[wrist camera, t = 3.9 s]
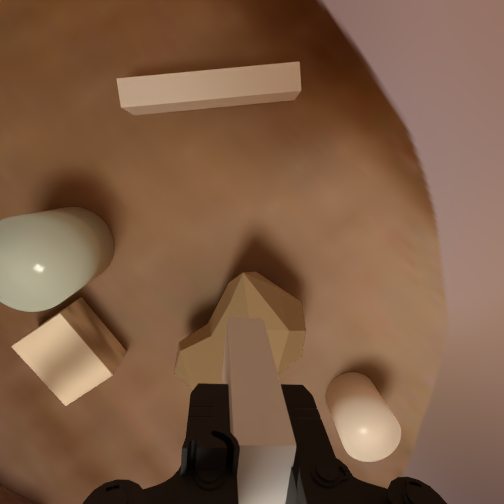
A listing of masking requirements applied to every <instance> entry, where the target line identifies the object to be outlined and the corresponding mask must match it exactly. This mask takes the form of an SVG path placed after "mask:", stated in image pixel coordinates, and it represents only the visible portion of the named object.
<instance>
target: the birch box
mask: <svg viewBox="0 0 504 504" xmlns="http://www.w3.org/2000/svg"><path fill="white" fill-rule="evenodd" d="M12 348H13V349H14V350H15V351H16V352H17V353H18V354H19V355H20V357H21V358H22V359H23V360H24V361H25V362H26V363H27V364H28V365H29V366H30V368H31V369H32V370H33V371H34V372H35V373H36V374H37V375H38V376H39V377H40V378H41V380H42V381H43V382H44V383H45V384H46V385H47V386H48V387H49V388H50V389H51V391H52V392H53V393H54V394H55V395H56V396H57V397H58V398H59V399H60V400H61V402H62V403H63V404H64V405H65V406H67V405H68V404H70V403H71V402H73V401H74V400H76V399H77V398H79V397H80V396H82V395H83V394H85V393H86V392H88V391H89V390H91V389H92V388H94V387H95V386H97V385H98V384H100V383H102V382H103V381H105V380H106V379H108V378H109V377H111V376H112V375H113V374H114V372H115V371H116V369H117V368H118V366H119V364H120V363H121V361H122V359H123V358H124V356H125V355H126V353H127V351H126V350H125V349H124V348H123V346H122V345H121V344H120V343H119V342H118V340H117V339H116V338H115V337H114V335H113V334H112V333H111V332H110V331H109V329H108V328H107V327H106V326H105V325H104V323H103V322H102V321H101V320H100V319H99V317H98V316H97V315H96V314H95V313H94V311H93V310H92V309H91V308H90V307H89V305H88V304H87V303H86V302H85V301H84V299H83V298H82V297H80V298H79V299H77V300H76V301H74V302H73V303H71V304H70V305H69V306H67V307H66V308H64V309H63V310H61V311H60V312H58V313H57V314H55V315H54V316H53V317H51V318H50V319H48V320H47V321H45V322H44V323H42V324H41V325H39V326H38V327H37V328H35V329H34V330H33V331H31V332H30V333H29V334H27V335H26V336H25V337H24V338H22V339H21V340H20V341H18V342H17V343H16V344H14V345H13V346H12Z"/></svg>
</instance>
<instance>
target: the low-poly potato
mask: <svg viewBox="0 0 504 504" xmlns="http://www.w3.org/2000/svg"><path fill="white" fill-rule="evenodd" d="M227 317H240V318H261V319H264V323H265V327H266V331H267V334H268V338H269V342H270V346H271V350H272V354H273V357H274V361H275V365H276V369H277V373H278V374H279V373H280V372H282V371H283V370H284V369H286V368H287V367H288V366H290V365H291V364H292V363H294V362H295V361H296V360H298V359H299V358H300V357H302V352H303V346H304V340H305V333H306V328H305V321H304V314H303V306H302V302H301V301H299V300H298V299H296V298H295V297H293V296H292V295H290V294H289V293H287V292H286V291H284V290H283V289H281V288H280V287H278V286H277V285H275V284H274V283H272V282H271V281H269V280H268V279H266V278H265V277H263V276H262V275H260V274H259V273H257V272H243V273H242V274H240V275H239V276H237V277H236V278H235V279H233V280H232V281H230V282H229V283H228V285H227V287H226V289H225V291H224V293H223V295H222V297H221V299H220V301H219V303H218V305H217V307H216V309H215V310H214V312H213V314H212V316H211V318H210V320H209V322H208V324H206V325H205V326H203V327H202V328H200V329H199V330H197V331H196V332H194V333H193V334H191V335H190V336H188V337H187V338H185V339H183V340H182V341H180V342H179V346H178V352H177V358H176V364H175V369H174V374H175V375H176V376H177V377H178V378H180V379H181V380H182V381H183V382H184V383H185V384H187V385H188V386H189V387H190V388H191V389H193V390H194V388H195V387H196V386H197V384H198V383H207V384H223V383H222V372H223V361H224V349H225V338H226V326H227Z"/></svg>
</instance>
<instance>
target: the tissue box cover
mask: <svg viewBox="0 0 504 504" xmlns="http://www.w3.org/2000/svg"><path fill="white" fill-rule="evenodd" d="M0 504H34V503H32V502H30V501H28V500H26V499H24V498H23V497H21V496H19V495H17V494H15V493H14V492H12V491H10V490H8V489H6V488H4V487H3V486H1V485H0Z"/></svg>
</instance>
